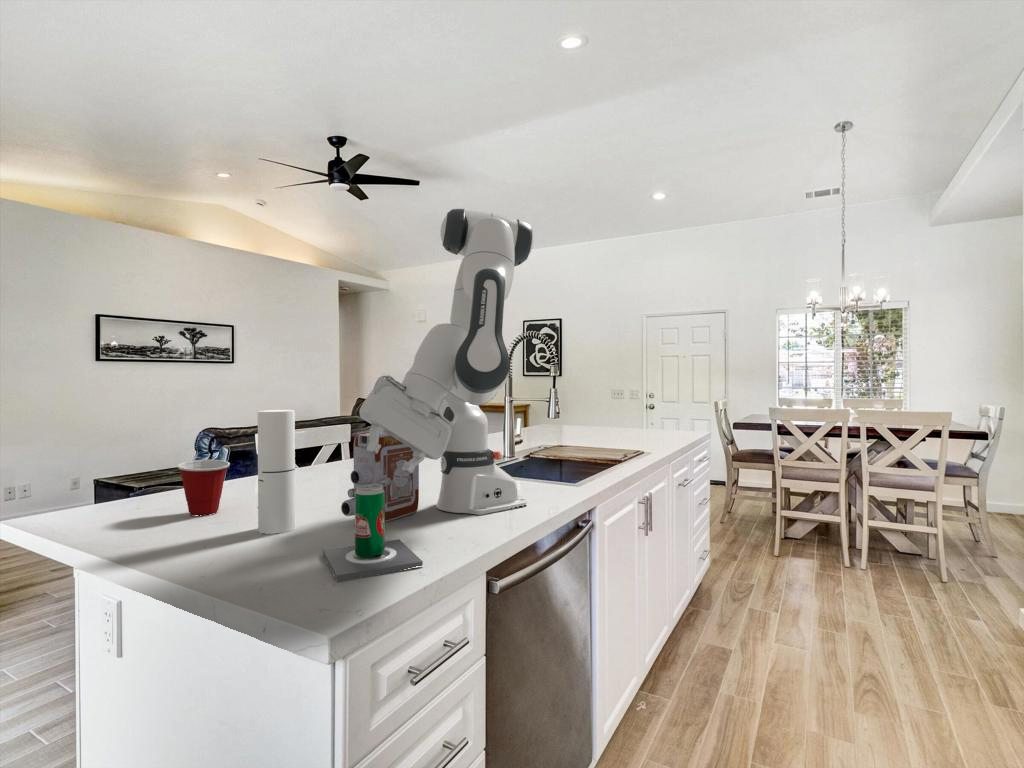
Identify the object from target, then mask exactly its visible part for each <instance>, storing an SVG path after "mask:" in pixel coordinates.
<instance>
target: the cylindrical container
mask: <svg viewBox="0 0 1024 768" xmlns="http://www.w3.org/2000/svg"><path fill="white" fill-rule="evenodd" d="M295 418H296V411H295V409H265V410H258V411H257V519H258V520H257V522H258V523H257V525H258V526H257V528H258V530H257V531H259V532H261V533H260V534H262V533H265V534H264V535H277V533H279V534H285V533H288V531H289V532H292V531H293V530H295V529H296V459H295V458H296V451H295V450H296V441H295V440H296V437H295V436H296V428H295V427H296V422H295V421H296V419H295ZM291 530H292V531H291ZM259 532H258V533H259ZM275 533H276V534H275Z"/></svg>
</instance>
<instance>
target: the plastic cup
mask: <svg viewBox="0 0 1024 768" xmlns="http://www.w3.org/2000/svg"><path fill="white" fill-rule="evenodd" d="M230 465H231V463H230V462H228V461H227V460H221V459H195V460H189V461H183V462H180V463H178V464H177V466H176V467H177V469H178V470H179V473H180V475H181V481H182V485H183V489H184V496H185V501H186V503H187V504H186V505H187V508H188V513H189V515H190V514H191V515H198V516H197V517H201V516H200V515H207V516H210V515H209V514H212V515H214V514H213V513H215V514H217V513H218V512H217V511H219V509H220V508H219V507H220V502H221V498H222V493H223V487H224V482H225V476H226V474H227V470H228V468H229V467H230ZM216 512H217V513H216ZM191 515H190V516H191Z"/></svg>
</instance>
